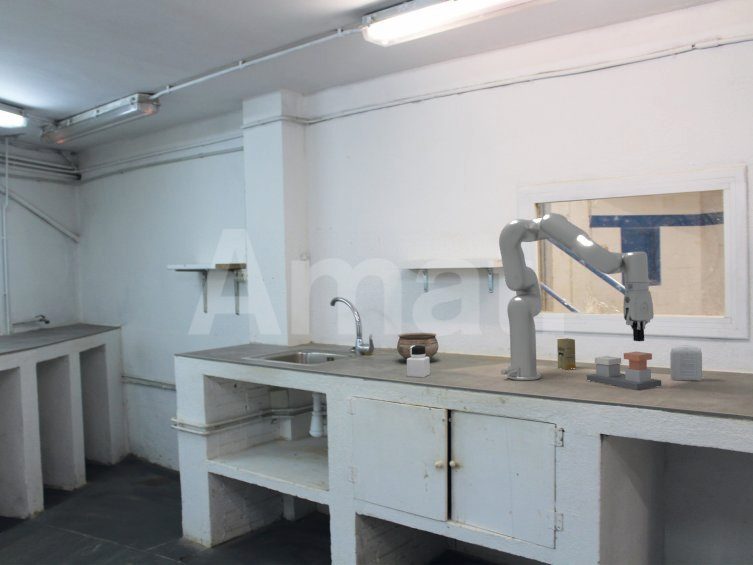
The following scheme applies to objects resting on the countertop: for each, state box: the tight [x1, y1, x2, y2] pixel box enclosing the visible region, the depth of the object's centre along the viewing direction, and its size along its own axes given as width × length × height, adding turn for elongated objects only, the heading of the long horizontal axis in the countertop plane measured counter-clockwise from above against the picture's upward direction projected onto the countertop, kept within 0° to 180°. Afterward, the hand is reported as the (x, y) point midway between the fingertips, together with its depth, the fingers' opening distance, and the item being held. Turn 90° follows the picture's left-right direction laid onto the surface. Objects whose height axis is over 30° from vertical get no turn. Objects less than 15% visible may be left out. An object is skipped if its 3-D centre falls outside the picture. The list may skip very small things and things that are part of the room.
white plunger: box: [594, 355, 622, 365], centre depth 227 cm, size 6×6×6 cm
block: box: [586, 363, 662, 391], centre depth 221 cm, size 12×22×6 cm, turn 28°
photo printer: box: [669, 345, 703, 382], centre depth 223 cm, size 10×4×12 cm, turn 72°
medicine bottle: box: [406, 345, 431, 378], centre depth 249 cm, size 7×7×12 cm
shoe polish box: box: [556, 337, 577, 370], centre depth 254 cm, size 5×5×12 cm
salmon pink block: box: [623, 351, 653, 370], centre depth 215 cm, size 6×6×6 cm
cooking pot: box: [396, 332, 439, 360], centre depth 285 cm, size 25×19×12 cm
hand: (638, 340), depth 215 cm, fingers closed
